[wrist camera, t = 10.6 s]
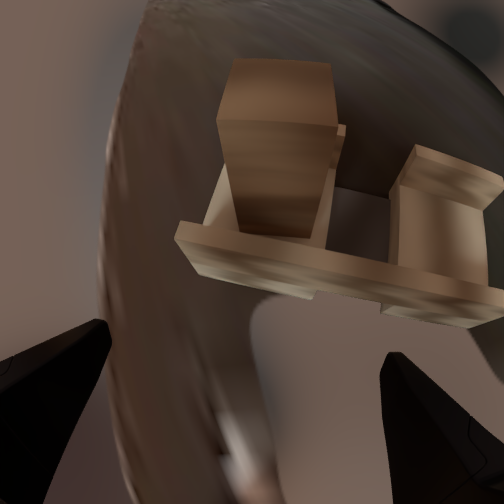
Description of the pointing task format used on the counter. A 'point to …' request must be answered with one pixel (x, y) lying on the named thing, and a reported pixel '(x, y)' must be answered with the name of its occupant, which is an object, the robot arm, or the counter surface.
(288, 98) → the walnut block
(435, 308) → the tunnel deck
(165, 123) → the counter surface
